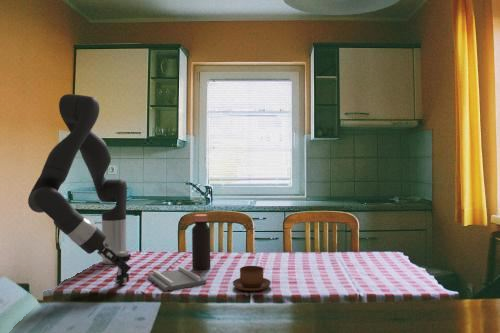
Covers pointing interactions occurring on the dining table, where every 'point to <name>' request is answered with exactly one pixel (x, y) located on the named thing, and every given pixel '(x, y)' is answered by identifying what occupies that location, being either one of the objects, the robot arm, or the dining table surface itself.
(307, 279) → the dining table surface
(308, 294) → the dining table surface
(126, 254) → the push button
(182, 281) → the rail plate
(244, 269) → the cup and saucer
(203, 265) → the bottle
